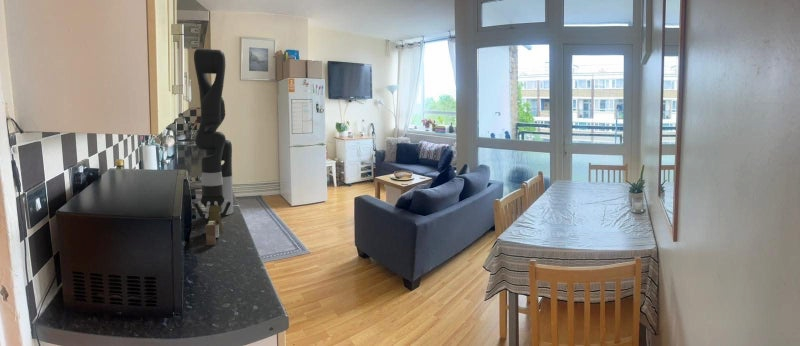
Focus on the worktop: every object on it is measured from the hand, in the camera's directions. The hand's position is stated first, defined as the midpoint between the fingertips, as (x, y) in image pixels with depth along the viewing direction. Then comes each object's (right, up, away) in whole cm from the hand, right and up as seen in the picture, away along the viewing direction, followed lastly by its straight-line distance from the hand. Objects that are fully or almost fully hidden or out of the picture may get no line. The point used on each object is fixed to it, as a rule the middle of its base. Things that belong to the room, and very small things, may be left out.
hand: (213, 226), depth 179 cm
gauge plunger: (+3, -3, -7) cm, 8 cm away
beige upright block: (+5, -4, -13) cm, 15 cm away
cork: (0, -2, +1) cm, 2 cm away
